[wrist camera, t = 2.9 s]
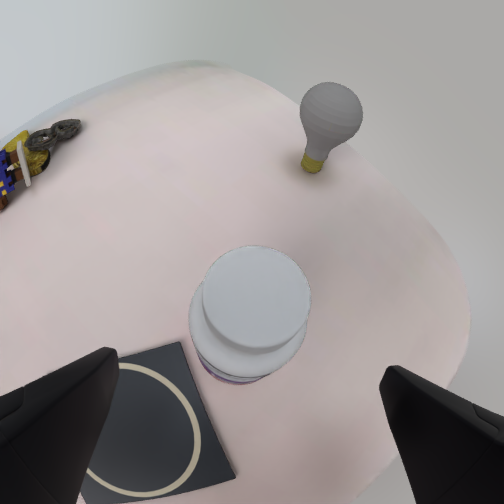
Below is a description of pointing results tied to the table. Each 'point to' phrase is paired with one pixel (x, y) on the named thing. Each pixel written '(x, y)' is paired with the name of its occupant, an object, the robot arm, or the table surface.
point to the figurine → (12, 171)
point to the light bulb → (328, 121)
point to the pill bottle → (249, 314)
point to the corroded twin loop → (52, 135)
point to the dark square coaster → (154, 434)
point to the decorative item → (29, 154)
